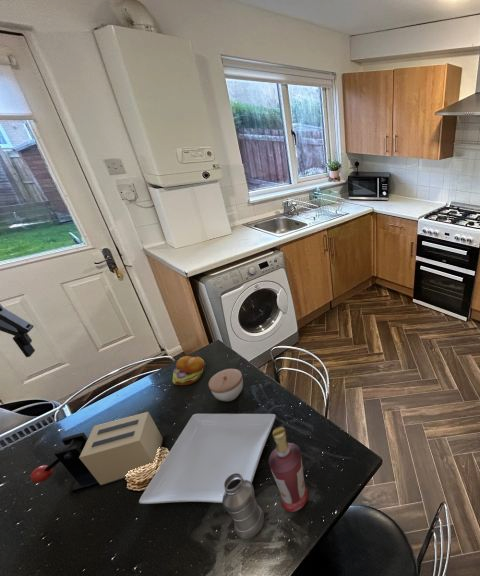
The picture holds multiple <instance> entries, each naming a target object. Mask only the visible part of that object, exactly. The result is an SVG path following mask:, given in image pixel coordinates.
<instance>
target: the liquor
mask: <svg viewBox="0 0 480 576" xmlns="http://www.w3.org/2000/svg"><path fill="white" fill-rule="evenodd" d="M272 437H273V441H274V442H275V445H276V446H275V448H274V449H273V450H272V451H271V453H270V454H269V457H268V465H269V468H270V472H271V473H272V477H273V480H274V481H275V484H276V486H277V490H278V491H279V494H280V496H281V499H280V503H281V507H282V508H283V510H285V511H287V512H289V513H294V512H297V511H300V510H301V509H302V508H303V507H304V506H305V504H306V503H307V502H308V499H309V491H308V488H307V487H306V483H305V476H304V465H303V458H302V451H301V448H300V447H299V445H298V444H295V443H293V442H288V440H287V433H286V429H285V427H284V426H277V427H275V428H274V429H273V431H272Z"/></svg>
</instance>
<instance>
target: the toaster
mask: <svg viewBox="0 0 480 576" xmlns="http://www.w3.org/2000/svg"><path fill="white" fill-rule="evenodd" d="M87 438H88V440H87V442H86V444H85V446H84V448H83V450H82V453H81V455H80V457H79V458H80V459H81V461H82V462H83V463H84V465H85V466H86V467H87V468H88V470H89V471H90V472H91V473H92V475H93V476H94V477H95V479H96V480H97V481H98V482H99V484H100V485H99V486H100V487H102V486H106V485H108V484H112V483H115V482H119V481H122V480H125V479H127V478H126V476H125V475H126V474H127V473H128V471H130V470H132V469H135V468H138V467H140V466H143V465H146V464H149V463H153V461H154V458H155V455H156V452H157V449H158V448H159V447H160V448H161V449H162V447H163V444H164V440H165V438H164V437H163V436H162V434H161V432H160V431H159V429H158V426H157V424H156V423H155V421H154V419H153V417H152V416H151V414H150V412H149V411H145V412H142V413H138V414H133V415H130V416H126V417H122V418H118V419H115V420H110V421H107V422H104V423H100V424H96V425H94V426H93V427H92V429H91V432H90V434H89V435H88V437H87Z"/></svg>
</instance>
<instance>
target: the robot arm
mask: <svg viewBox="0 0 480 576" xmlns="http://www.w3.org/2000/svg"><path fill="white" fill-rule="evenodd" d="M34 326H35V325H33V324H32V323H30V322H28V321H26V319H23V318H22V317H20V316H18V315H17V314H15V313H13V312H12V311H10V310H8V309H6V308H5V307H4V306H3V305H2V304H1V303H0V332H3V333H5V334H9V335H11V336H12V340H13V342H14V343H15V344H16V346H17V347H18V348H19V350H20V351H21V352H22V354H23V356H25V358H30V357H31V356H32V355H33V354H34V353H35V352H36V349H35V347H33V345H32V342H33V339H32V338H31V337H30V335H29V333H30V331H31V330H33V328H34Z"/></svg>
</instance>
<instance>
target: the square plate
mask: <svg viewBox="0 0 480 576" xmlns="http://www.w3.org/2000/svg"><path fill="white" fill-rule="evenodd" d="M276 417H277V415H276V414H274V413H194V414H192V416H190V418H189V420H188V422H187V423H186V424H185V427H184V428H183V430H182V431H181V433H180V434H179V436H178V437H177V439H176V441H175V443H174V444H173V446H172V447H171V449H170V450H169V452H168V453H167V455H166V456H165V459H163V461H162V463H161V464H160V466H159V467H158V468H157V471H156V473H155V474H154V476H153V477H152V478H151V481H150V482H149V484H147V487H146V488H145V490H144V491H143V493H142V494H141V496H140V498H139V500H138V503H139V504H141V505H151V504H153V505H154V504H166V503H167V504H168V503H187V502H188V503H189V502H191V503H192V502H194V503H195V502H197V503H198V502H199V503H200V502H201V503H215V504H216V503H218V504H222V500H223V494H224V492H225V488H224V482H225V480H226V479H227V478H228V477H229V476H230V475H231V474H234V473H239V474H241V475H242V478H243V479H246V480H248V481H250V482H251V483H252V484H253V481H254V477H255V474H256V471H257V469H258V465H259V462H260V459H261V456H262V455H263V454H262V453H263V452H264V451H263V450H264V448H265V446H266V443H267V440H268V438H269V435H270V433H271V430H272V428H273V426H274V423H275V421H276Z"/></svg>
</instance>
